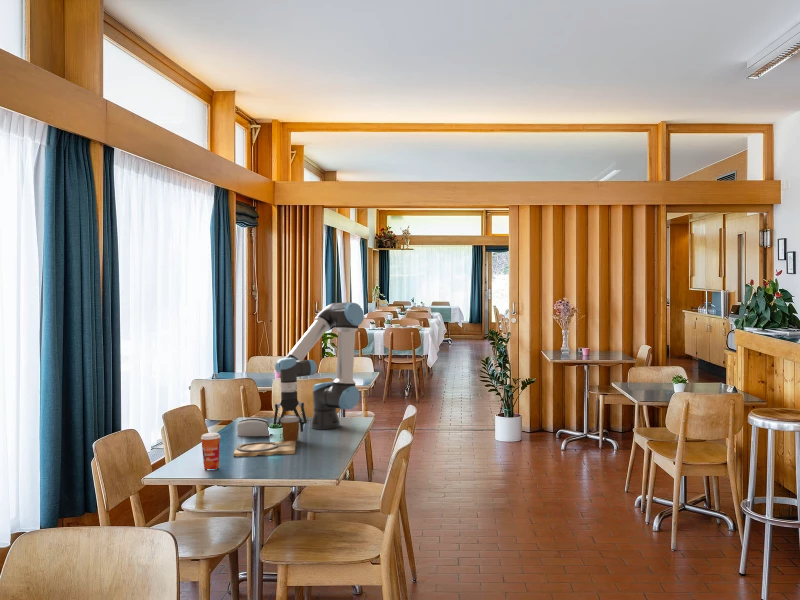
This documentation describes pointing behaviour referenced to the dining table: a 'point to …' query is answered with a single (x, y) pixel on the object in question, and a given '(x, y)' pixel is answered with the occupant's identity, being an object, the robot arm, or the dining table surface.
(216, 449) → the paper cup
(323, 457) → the dining table surface
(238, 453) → the wooden board
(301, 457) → the dining table surface
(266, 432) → the napkin holder
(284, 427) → the disposable coffee cup
